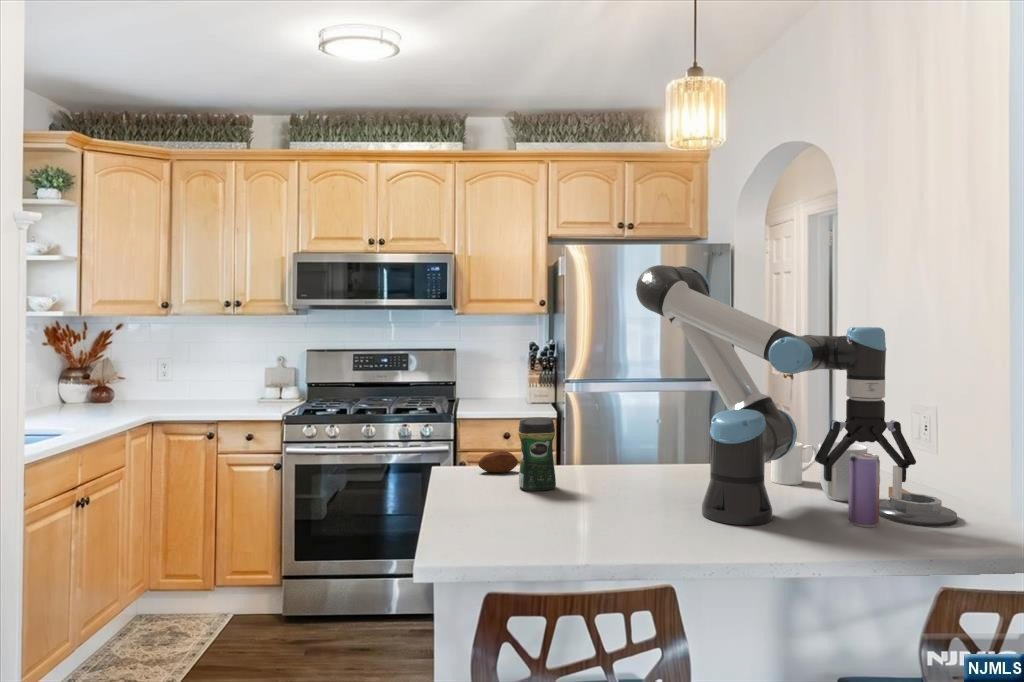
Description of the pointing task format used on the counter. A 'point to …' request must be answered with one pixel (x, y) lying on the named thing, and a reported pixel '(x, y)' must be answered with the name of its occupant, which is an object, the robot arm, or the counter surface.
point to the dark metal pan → (916, 510)
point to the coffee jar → (536, 454)
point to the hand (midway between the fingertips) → (864, 496)
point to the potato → (498, 462)
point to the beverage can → (864, 489)
